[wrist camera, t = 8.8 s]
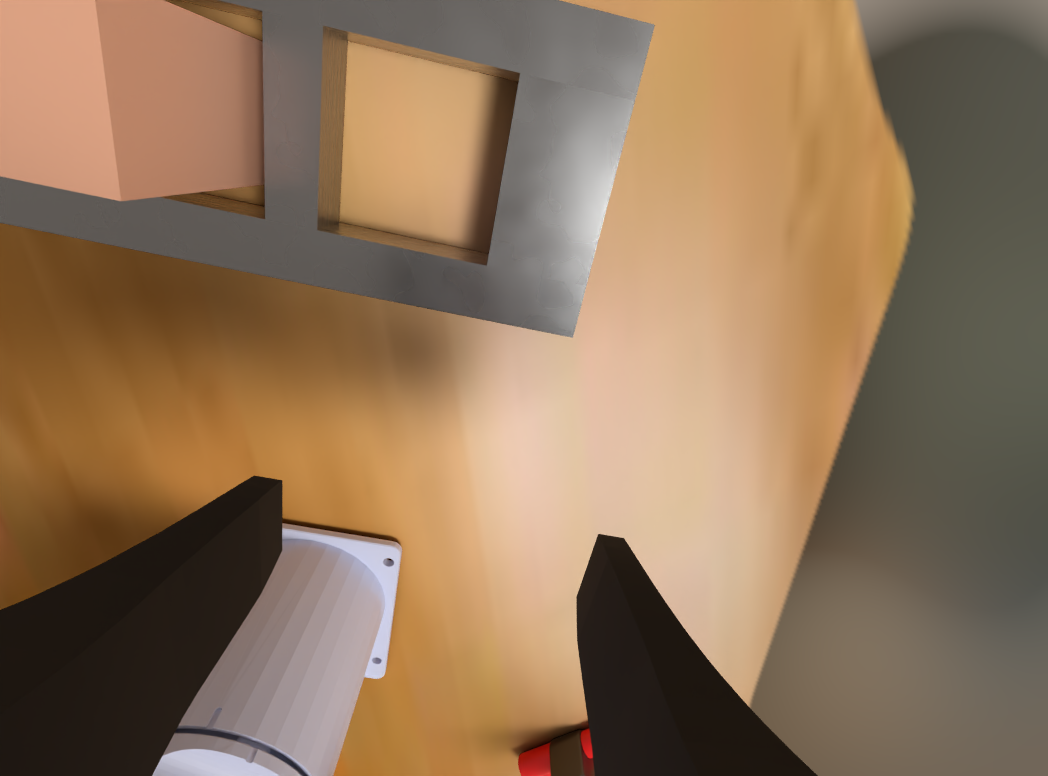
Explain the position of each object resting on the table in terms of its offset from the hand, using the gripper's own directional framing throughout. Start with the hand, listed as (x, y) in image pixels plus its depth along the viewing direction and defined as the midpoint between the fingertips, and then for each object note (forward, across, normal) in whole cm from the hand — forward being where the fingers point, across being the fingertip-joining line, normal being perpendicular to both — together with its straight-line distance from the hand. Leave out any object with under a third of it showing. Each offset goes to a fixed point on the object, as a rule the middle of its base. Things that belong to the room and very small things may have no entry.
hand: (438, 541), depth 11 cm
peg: (+9, +10, -8) cm, 16 cm away
